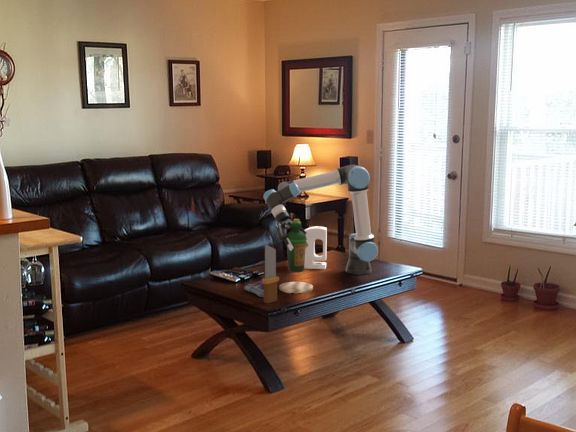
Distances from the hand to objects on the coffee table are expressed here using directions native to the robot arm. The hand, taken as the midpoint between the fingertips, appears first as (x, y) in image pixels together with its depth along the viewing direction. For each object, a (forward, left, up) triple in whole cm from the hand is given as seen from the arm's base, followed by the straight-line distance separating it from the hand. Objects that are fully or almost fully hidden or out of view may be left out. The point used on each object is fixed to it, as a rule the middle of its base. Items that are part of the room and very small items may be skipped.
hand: (299, 247), depth 349 cm
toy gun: (+20, +3, -24) cm, 31 cm away
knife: (+15, +20, -23) cm, 35 cm away
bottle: (+2, -2, -13) cm, 14 cm away
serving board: (+2, -2, -23) cm, 23 cm away
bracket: (-7, -49, -23) cm, 55 cm away
